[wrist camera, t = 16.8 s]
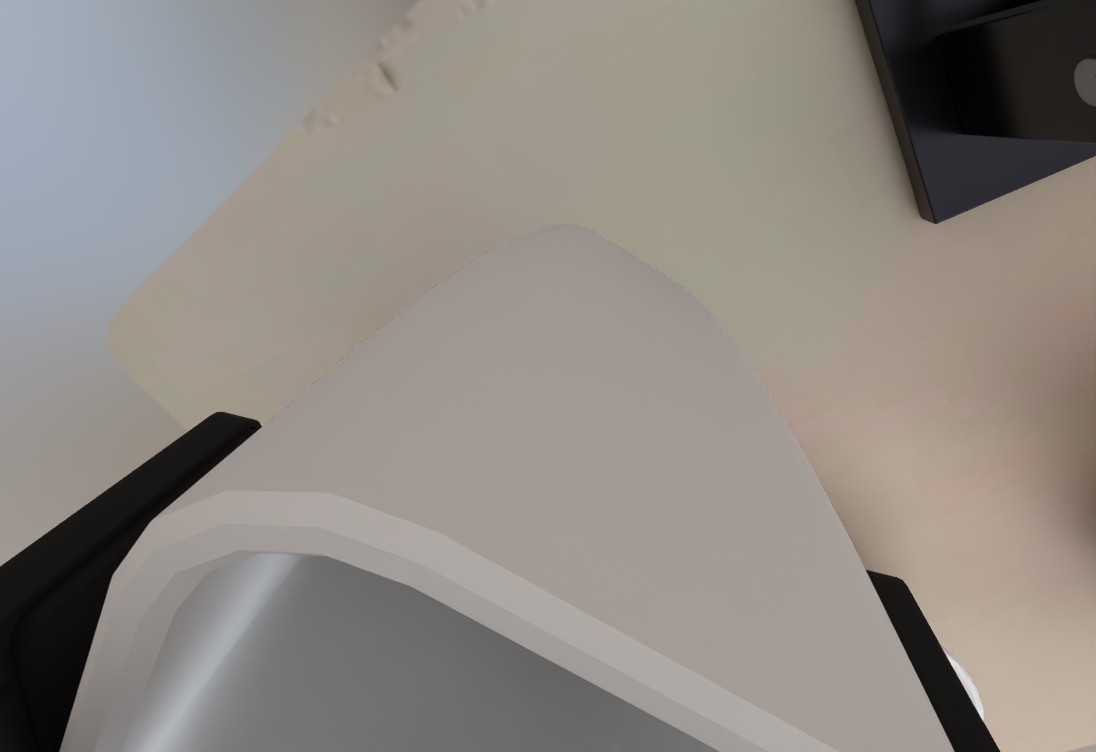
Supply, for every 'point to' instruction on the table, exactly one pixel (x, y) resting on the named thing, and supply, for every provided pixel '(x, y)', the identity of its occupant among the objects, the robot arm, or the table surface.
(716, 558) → the cup
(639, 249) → the table surface
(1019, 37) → the bracket
